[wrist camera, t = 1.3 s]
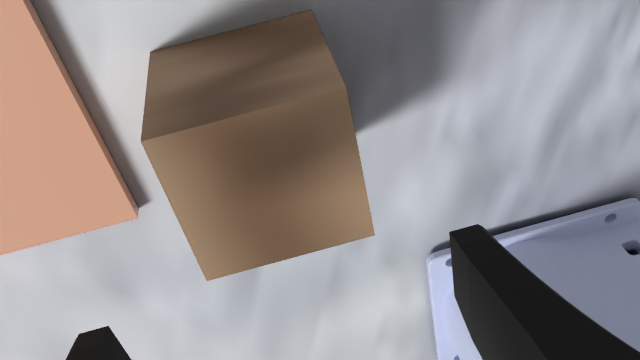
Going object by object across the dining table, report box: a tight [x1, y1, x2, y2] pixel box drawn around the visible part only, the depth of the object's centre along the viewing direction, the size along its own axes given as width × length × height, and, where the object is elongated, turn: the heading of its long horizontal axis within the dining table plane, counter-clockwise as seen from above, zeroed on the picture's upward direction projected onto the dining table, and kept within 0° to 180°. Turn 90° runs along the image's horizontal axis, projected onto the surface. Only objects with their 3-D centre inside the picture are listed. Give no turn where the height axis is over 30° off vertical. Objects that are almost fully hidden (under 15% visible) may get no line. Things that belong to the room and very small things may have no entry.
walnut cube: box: [141, 10, 375, 281], centre depth 18 cm, size 5×5×5 cm
